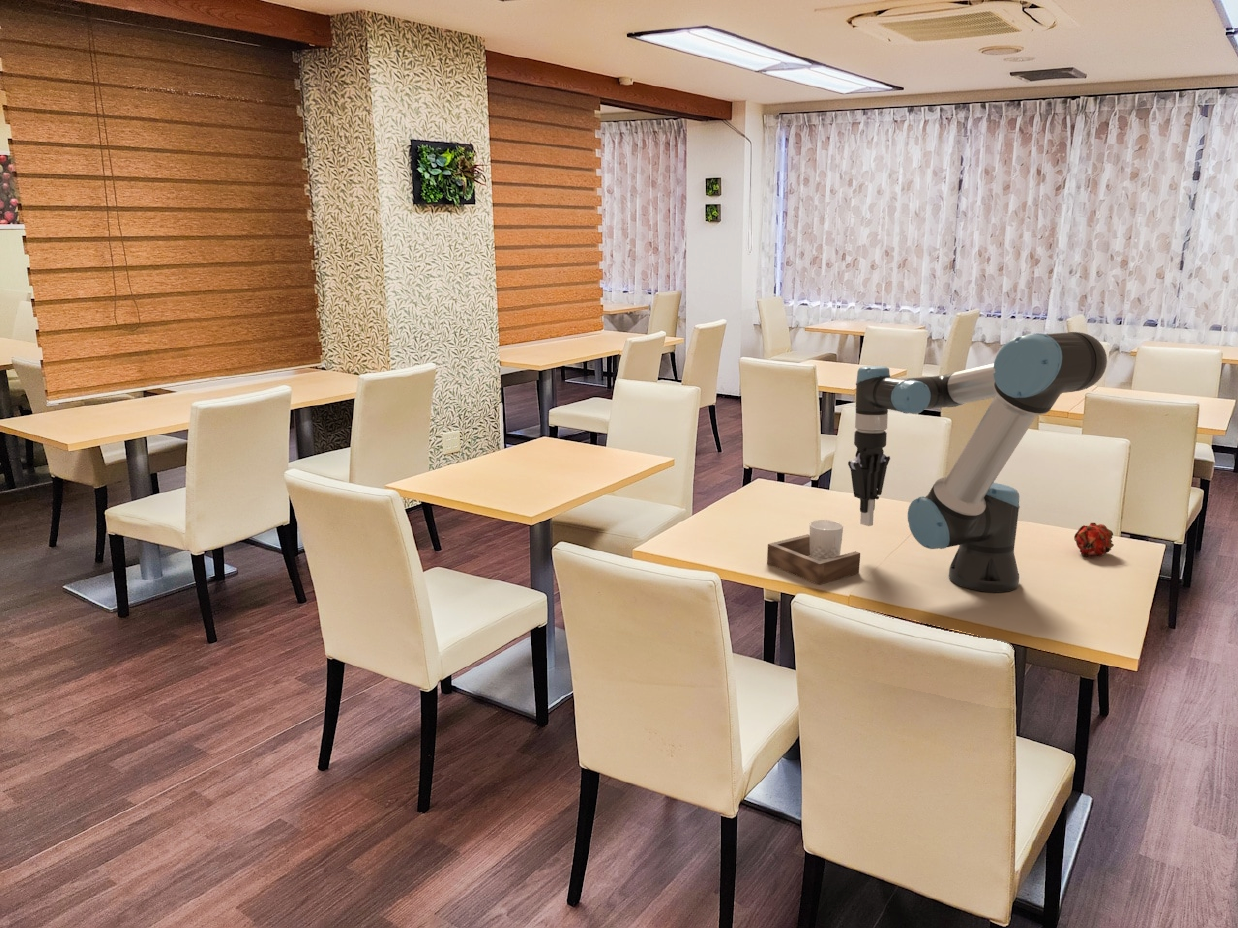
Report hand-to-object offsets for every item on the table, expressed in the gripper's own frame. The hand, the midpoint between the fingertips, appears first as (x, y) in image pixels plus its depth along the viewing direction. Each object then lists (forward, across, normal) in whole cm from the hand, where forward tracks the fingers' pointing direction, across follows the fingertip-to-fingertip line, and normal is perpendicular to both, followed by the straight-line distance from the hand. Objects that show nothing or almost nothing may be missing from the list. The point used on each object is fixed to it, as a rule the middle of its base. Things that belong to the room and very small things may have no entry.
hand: (866, 524), depth 229 cm
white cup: (+8, +13, -2) cm, 15 cm away
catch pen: (+8, +16, -2) cm, 18 cm away
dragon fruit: (+9, -48, +32) cm, 58 cm away
